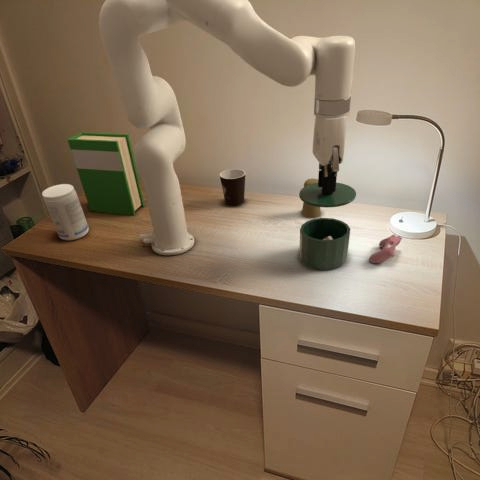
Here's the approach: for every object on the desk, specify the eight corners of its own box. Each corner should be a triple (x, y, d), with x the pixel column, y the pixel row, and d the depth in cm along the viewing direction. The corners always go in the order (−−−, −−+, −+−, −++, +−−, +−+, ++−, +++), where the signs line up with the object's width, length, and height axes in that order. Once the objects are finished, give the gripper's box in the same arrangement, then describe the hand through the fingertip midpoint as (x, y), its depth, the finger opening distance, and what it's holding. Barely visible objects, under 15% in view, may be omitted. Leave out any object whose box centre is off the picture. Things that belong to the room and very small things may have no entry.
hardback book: (144, 205, 145) (128, 134, 130) (134, 215, 140) (115, 141, 125) (102, 201, 150) (81, 132, 135) (90, 210, 145) (67, 139, 130)
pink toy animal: (380, 271, 108) (397, 253, 103) (366, 260, 109) (382, 242, 104) (391, 253, 115) (408, 235, 109) (378, 243, 115) (393, 225, 110)
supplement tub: (88, 224, 137) (73, 181, 128) (90, 237, 130) (75, 192, 121) (58, 231, 135) (41, 187, 125) (58, 244, 128) (41, 199, 118)
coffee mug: (247, 207, 139) (245, 178, 133) (221, 208, 140) (218, 179, 133) (247, 192, 148) (245, 164, 142) (223, 194, 148) (220, 166, 142)
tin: (305, 272, 108) (306, 244, 102) (295, 248, 117) (295, 220, 112) (353, 267, 108) (356, 238, 103) (339, 243, 118) (341, 215, 112)
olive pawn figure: (320, 218, 130) (322, 184, 123) (300, 217, 131) (301, 184, 124) (321, 209, 134) (323, 176, 127) (302, 209, 135) (303, 176, 128)
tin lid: (306, 212, 96) (307, 182, 92) (294, 189, 107) (294, 161, 102) (363, 206, 97) (367, 175, 92) (345, 183, 107) (348, 155, 103)
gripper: (305, 99, 95) (303, 178, 107) (324, 118, 82) (319, 205, 94) (338, 95, 95) (332, 175, 107) (361, 114, 83) (352, 201, 94)
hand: (326, 188), depth 100 cm, fingers closed on tin lid, 2 cm apart
